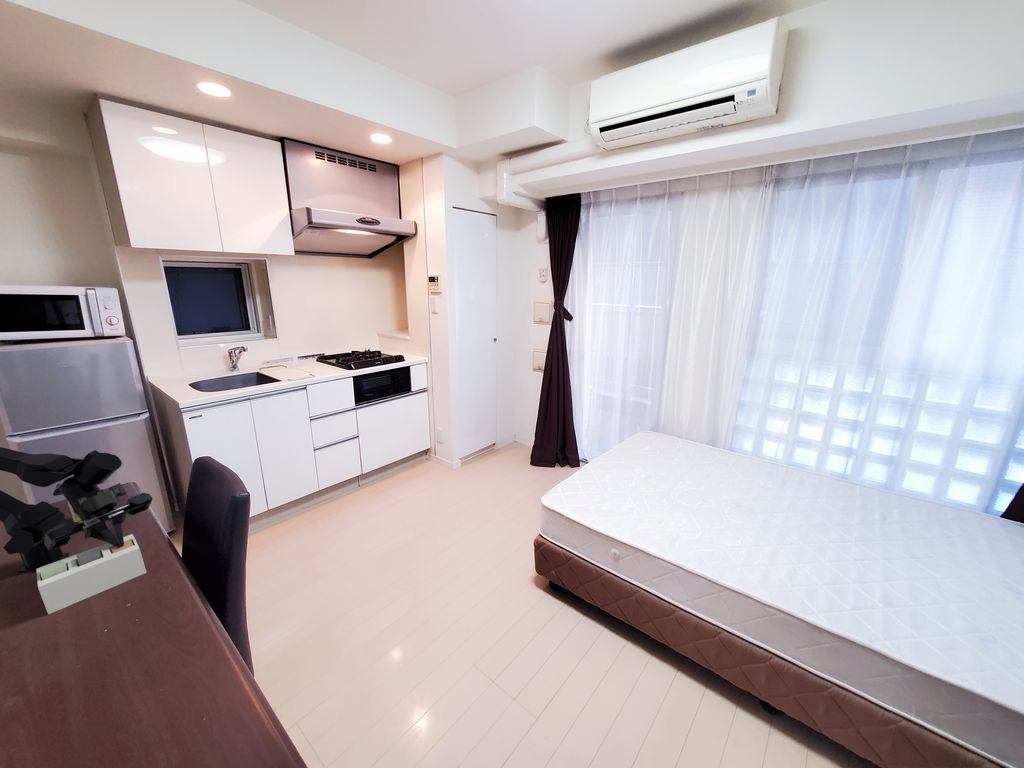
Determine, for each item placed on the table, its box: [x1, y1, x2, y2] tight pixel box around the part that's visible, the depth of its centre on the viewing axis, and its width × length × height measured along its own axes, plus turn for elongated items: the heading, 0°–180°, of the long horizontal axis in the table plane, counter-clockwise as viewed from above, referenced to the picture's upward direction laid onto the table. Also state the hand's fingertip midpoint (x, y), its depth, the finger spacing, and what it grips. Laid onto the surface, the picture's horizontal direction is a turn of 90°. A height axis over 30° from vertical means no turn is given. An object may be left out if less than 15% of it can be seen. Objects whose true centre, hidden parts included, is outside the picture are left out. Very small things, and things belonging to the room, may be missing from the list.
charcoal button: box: [75, 546, 102, 566], centre depth 92 cm, size 4×4×2 cm
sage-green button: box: [40, 558, 68, 580], centre depth 88 cm, size 4×4×2 cm
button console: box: [36, 533, 147, 615], centre depth 93 cm, size 9×16×7 cm, turn 141°
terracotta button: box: [111, 540, 133, 553], centre depth 96 cm, size 4×4×2 cm
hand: (121, 546), depth 96 cm, fingers closed, pressing on terracotta button
